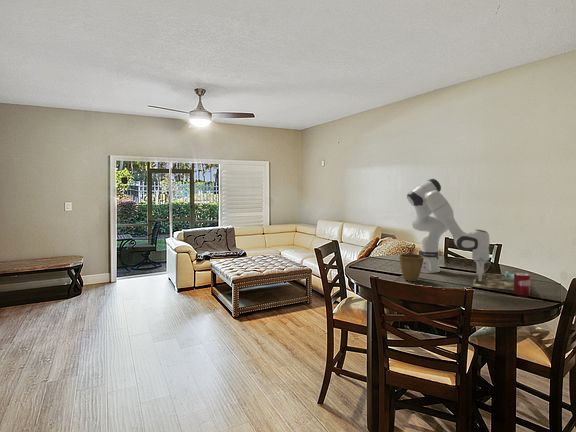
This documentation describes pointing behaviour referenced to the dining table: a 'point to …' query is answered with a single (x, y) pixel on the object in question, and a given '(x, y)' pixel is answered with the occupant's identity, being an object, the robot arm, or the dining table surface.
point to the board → (495, 283)
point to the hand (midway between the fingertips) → (479, 279)
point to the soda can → (522, 284)
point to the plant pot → (411, 266)
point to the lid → (509, 276)
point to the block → (480, 281)
